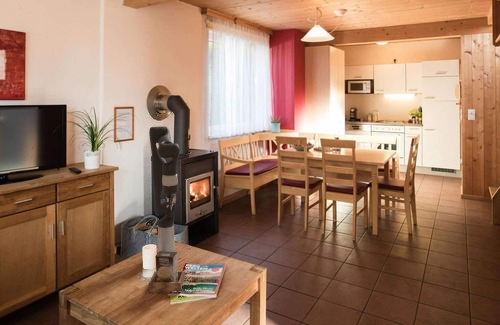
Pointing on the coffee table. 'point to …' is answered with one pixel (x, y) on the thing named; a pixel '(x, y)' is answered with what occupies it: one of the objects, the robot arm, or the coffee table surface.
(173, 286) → the walnut box
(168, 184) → the robot arm
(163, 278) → the coffee box
